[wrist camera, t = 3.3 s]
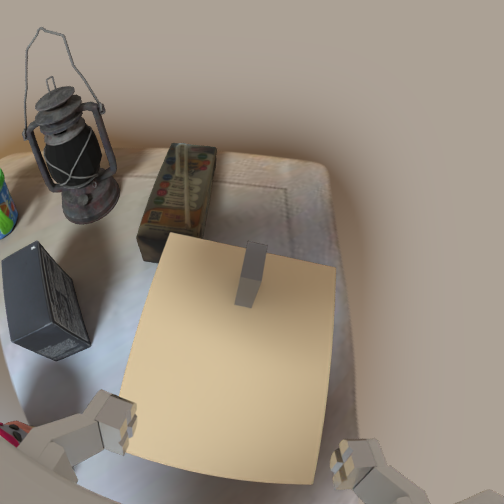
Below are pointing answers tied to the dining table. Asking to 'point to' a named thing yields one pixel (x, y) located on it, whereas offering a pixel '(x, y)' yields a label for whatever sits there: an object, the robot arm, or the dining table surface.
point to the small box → (42, 304)
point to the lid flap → (232, 362)
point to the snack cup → (6, 209)
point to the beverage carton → (177, 198)
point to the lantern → (73, 151)
